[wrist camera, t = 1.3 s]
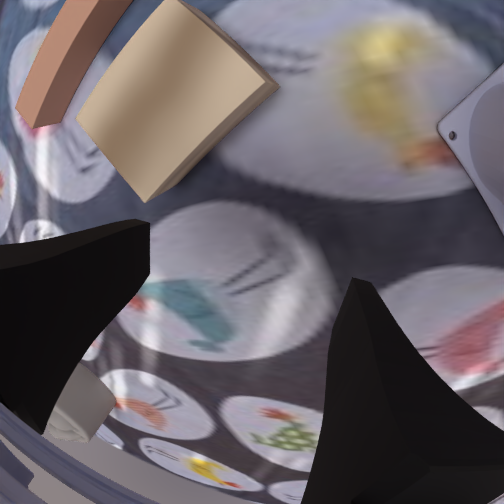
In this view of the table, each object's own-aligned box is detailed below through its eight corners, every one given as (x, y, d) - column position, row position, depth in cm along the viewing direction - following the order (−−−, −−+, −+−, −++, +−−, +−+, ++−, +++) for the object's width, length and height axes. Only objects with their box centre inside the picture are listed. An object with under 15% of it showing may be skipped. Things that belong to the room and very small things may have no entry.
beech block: (281, 86, 16) (265, 82, 12) (178, 184, 20) (144, 202, 17) (201, 11, 15) (169, -6, 11) (115, 112, 19) (75, 118, 16)
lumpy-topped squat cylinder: (36, 338, 36) (-2, 376, 28) (104, 371, 33) (64, 422, 25) (60, 386, 40) (30, 422, 33) (125, 419, 38) (95, 463, 30)
